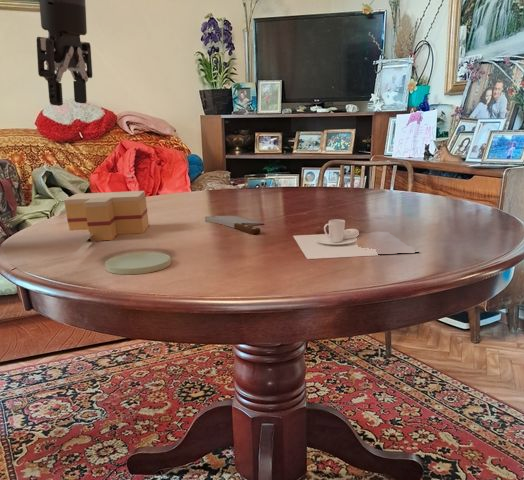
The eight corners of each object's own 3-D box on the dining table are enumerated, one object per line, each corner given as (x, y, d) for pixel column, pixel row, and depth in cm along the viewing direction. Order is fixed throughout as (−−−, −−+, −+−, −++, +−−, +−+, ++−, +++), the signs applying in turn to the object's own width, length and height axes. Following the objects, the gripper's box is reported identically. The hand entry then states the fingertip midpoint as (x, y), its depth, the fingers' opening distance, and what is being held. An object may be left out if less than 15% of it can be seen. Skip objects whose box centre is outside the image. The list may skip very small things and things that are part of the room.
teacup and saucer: (355, 236, 102) (356, 216, 101) (365, 245, 95) (366, 223, 94) (312, 238, 102) (312, 218, 100) (319, 247, 95) (319, 225, 93)
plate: (99, 276, 82) (98, 270, 82) (112, 259, 92) (111, 254, 92) (168, 272, 83) (167, 266, 82) (173, 256, 93) (172, 250, 92)
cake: (70, 236, 113) (63, 199, 110) (81, 228, 122) (75, 193, 119) (143, 233, 114) (138, 196, 111) (149, 225, 123) (144, 190, 120)
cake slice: (90, 241, 108) (83, 202, 104) (96, 235, 113) (90, 198, 110) (112, 240, 108) (106, 201, 105) (117, 234, 113) (111, 197, 110)
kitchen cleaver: (285, 227, 111) (243, 230, 106) (285, 231, 111) (244, 235, 107) (238, 213, 130) (201, 215, 126) (238, 217, 131) (201, 220, 127)
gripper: (64, 3, 95) (70, 99, 103) (17, -8, 82) (27, 102, 90) (102, 8, 94) (105, 105, 102) (59, -3, 81) (66, 109, 89)
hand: (68, 104), depth 96 cm, fingers open, 8 cm apart
